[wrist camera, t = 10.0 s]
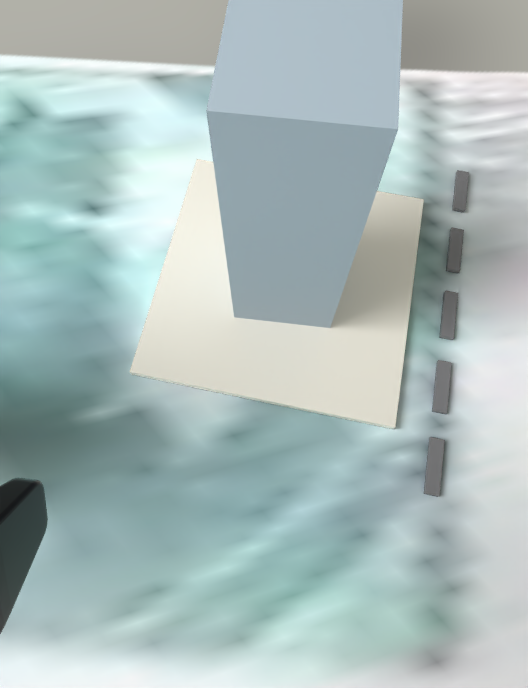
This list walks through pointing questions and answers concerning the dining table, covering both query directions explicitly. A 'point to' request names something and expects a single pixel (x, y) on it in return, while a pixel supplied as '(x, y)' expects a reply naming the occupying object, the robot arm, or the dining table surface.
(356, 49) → the stub block
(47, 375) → the dining table surface
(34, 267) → the dining table surface
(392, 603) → the dining table surface
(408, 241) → the coaster
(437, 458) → the perforation line
